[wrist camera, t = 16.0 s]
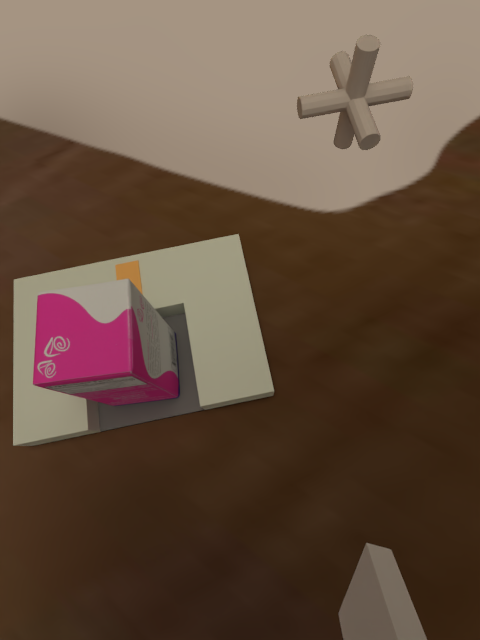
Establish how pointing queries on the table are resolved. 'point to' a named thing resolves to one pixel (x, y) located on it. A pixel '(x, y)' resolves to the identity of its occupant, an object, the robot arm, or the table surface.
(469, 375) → the table surface
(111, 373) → the supplement box
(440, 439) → the table surface
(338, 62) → the pipe connector
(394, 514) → the table surface
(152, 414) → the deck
